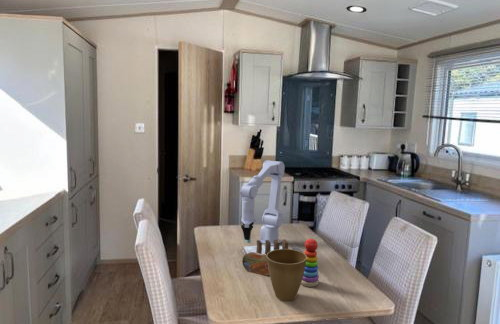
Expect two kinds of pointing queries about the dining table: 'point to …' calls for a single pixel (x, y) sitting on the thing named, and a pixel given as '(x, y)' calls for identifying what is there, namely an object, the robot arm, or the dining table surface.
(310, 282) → the stacking toy
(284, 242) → the domino
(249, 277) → the dining table surface
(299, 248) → the stop block
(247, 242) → the domino
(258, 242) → the domino
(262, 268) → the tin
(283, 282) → the plant pot
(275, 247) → the domino
